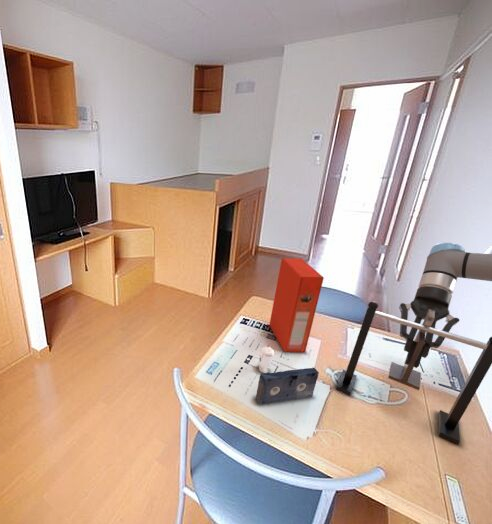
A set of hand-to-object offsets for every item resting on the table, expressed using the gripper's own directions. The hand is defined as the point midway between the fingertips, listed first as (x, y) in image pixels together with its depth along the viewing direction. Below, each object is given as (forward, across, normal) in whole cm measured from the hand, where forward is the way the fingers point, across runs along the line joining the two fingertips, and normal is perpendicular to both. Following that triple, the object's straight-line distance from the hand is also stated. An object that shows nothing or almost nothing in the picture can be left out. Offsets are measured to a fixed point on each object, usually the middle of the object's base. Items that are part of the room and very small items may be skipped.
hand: (411, 364), depth 85 cm
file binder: (+2, +36, -23) cm, 43 cm away
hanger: (+2, 0, -8) cm, 8 cm away
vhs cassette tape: (+24, +26, -1) cm, 36 cm away
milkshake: (+19, +36, -6) cm, 41 cm away
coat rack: (+10, 0, -15) cm, 18 cm away
